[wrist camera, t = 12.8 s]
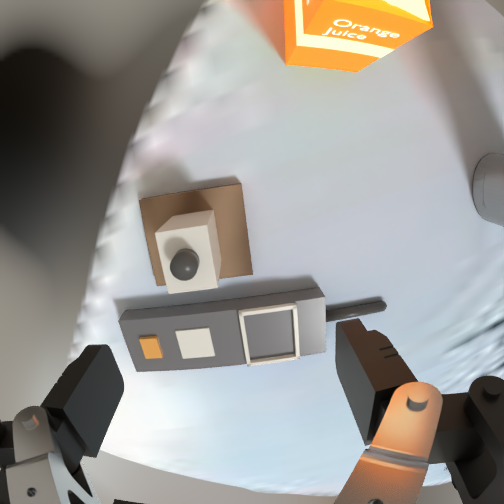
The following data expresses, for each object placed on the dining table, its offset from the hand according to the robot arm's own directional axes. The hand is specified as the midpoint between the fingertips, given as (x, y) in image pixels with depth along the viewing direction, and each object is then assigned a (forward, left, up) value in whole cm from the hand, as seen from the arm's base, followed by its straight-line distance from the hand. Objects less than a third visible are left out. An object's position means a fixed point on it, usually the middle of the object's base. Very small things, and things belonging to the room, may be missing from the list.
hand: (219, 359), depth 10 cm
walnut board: (+3, +1, -22) cm, 22 cm away
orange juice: (-12, -19, -22) cm, 32 cm away
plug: (+3, +1, -21) cm, 21 cm away
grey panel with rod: (-2, +12, -22) cm, 25 cm away
